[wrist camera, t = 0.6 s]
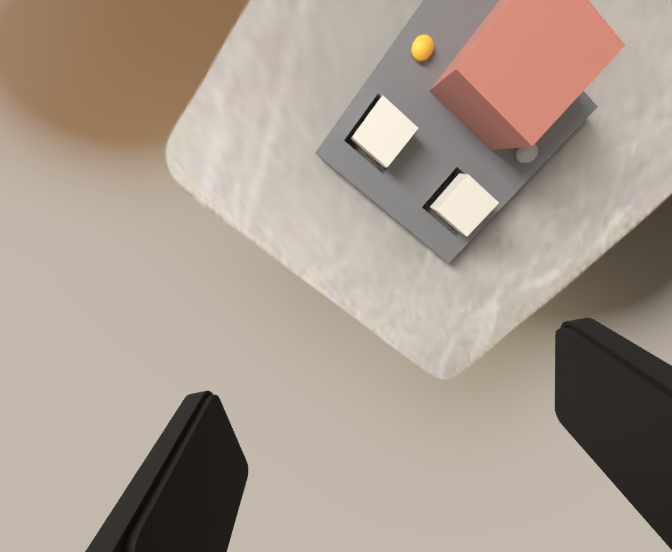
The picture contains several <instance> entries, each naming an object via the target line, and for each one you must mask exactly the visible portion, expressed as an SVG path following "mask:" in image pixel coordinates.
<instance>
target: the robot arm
mask: <svg viewBox="0 0 672 552" xmlns="http://www.w3.org/2000/svg"><path fill="white" fill-rule="evenodd" d="M555 341H556V342H555V343H556V344H555V411H556V415H557V417H558V419H559V421H560V423H561V424H562V425H563V426H564V427H565V429H566V430H567V431H568V432H569V433H570V434H571V435H572V437H573V438H574V439H575V440H576V441H577V442H578V443H579V445H580V446H581V447H582V448H583V449H584V450H585V451H586V453H587V454H588V455H589V456H590V457H591V458H592V459H593V460H594V462H595V463H596V464H597V465H598V466H599V467H600V469H602V471H603V472H604V473H605V474H606V475H607V477H608V478H609V479H610V480H611V481H612V482H613V483H614V485H615V486H616V487H617V488H618V489H619V490H620V491H621V492H622V494H623V495H624V496H625V497H626V498H627V499H628V500H629V502H630V503H631V504H632V505H633V506H634V507H635V508H636V510H637V511H638V512H639V513H640V514H641V515H642V516H643V518H644V519H645V520H646V521H647V522H648V523H649V525H650V526H651V527H652V528H653V529H654V530H655V531H656V533H657V534H658V535H659V536H660V537H661V538H662V539H663V540H664V541H665V543H666V544H667V545H668V546H669V547H670V548H671V550H672V366H671V365H669V364H667V363H666V362H664V361H662V360H661V359H659V358H658V357H656V356H654V355H652V354H651V353H649V352H647V351H646V350H644V349H642V348H641V347H639V346H637V345H636V344H634V343H632V342H631V341H629V340H627V339H626V338H624V337H622V336H621V335H618V334H617V333H616V332H614V331H612V330H611V329H609V328H607V327H605V326H604V325H602V324H600V323H599V322H597V321H595V320H594V319H591V318H582V319H577V320H572V321H567V322H564V323H562V325H561V328H560V329H558V330H557V331H556V337H555ZM247 477H248V464H247V461H246V459H245V456H244V454H243V452H242V450H241V447H240V445H239V442H238V440H237V438H236V436H235V433H234V431H233V428H232V426H231V424H230V422H229V419H228V417H227V415H226V412H225V410H224V408H223V405H222V403H221V401H220V399H219V397H218V396H217V395H213V394H212V392H210V391H204V392H198V393H194V394H189V395H187V396H186V397H185V399H184V400H183V402H182V403H181V405H180V406H179V408H178V410H177V411H176V413H175V414H174V416H173V417H172V419H171V420H170V422H169V423H168V425H167V426H166V428H165V430H164V432H163V433H162V434H161V436H160V438H159V439H158V440H157V442H156V443H155V445H154V446H153V448H152V450H151V451H150V453H149V454H148V456H147V457H146V459H145V461H144V462H143V464H142V465H141V467H140V468H139V470H138V471H137V473H136V474H135V476H134V477H133V479H132V481H131V482H130V484H129V485H128V487H127V488H126V490H125V491H124V493H123V494H122V496H121V497H120V499H119V501H118V502H117V504H116V505H115V507H114V508H113V510H112V512H111V513H110V514H109V516H108V518H107V519H106V521H105V522H104V524H103V525H102V527H101V528H100V530H99V531H98V533H97V535H96V536H95V538H94V539H93V541H92V542H91V544H90V545H89V547H88V549H87V550H86V551H85V552H227V548H228V545H229V541H230V538H231V534H232V531H233V527H234V523H235V520H236V516H237V513H238V509H239V506H240V502H241V499H242V495H243V492H244V488H245V484H246V481H247Z"/></svg>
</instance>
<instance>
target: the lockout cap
mask: <svg viewBox="0 0 672 552" xmlns="http://www.w3.org/2000/svg"><path fill="white" fill-rule="evenodd" d="M624 46H625V45H624V43H623V42H622V41H621V40H620V38H619V37H618V36H617V35H616V34H615V32H614V31H613V30H612V29H611V27H610V26H609V25H608V24H607V22H606V21H605V20H604V19H603V18H602V16H601V15H600V14H599V13H598V11H597V10H596V9H595V8H594V6H593V5H592V4H591V3H590V2H589V0H499V1H498V2H497V4H496V5H495V6H494V7H493V9H492V10H491V11H490V13H489V14H488V15H487V17H486V18H485V19H484V20H483V22H482V23H481V24H480V26H479V27H478V28H477V29H476V31H475V32H474V33H473V35H472V36H471V37H470V38H469V40H468V41H467V42H466V44H465V45H464V46H463V47H462V49H461V50H460V51H459V53H458V54H457V55H456V57H455V58H454V59H453V60H452V62H451V63H450V64H449V66H448V67H447V68H446V69H445V71H444V72H443V73H442V75H441V76H440V77H439V78H438V80H437V81H436V82H435V84H434V85H433V86H432V88H431V89H430V90H429V91H430V92H431V93H432V94H433V95H434V96H435V97H437V98H438V99H439V100H440V101H441V102H442V103H443V104H444V105H445V106H446V107H447V108H448V109H449V110H450V111H451V112H452V113H453V114H454V115H455V116H456V117H457V118H458V119H459V120H460V121H461V122H462V123H463V124H464V125H465V126H466V127H467V128H468V129H470V130H471V131H472V132H473V133H474V134H475V135H476V136H477V137H478V138H479V139H480V140H481V141H482V142H483V143H484V144H485V145H486V146H487V147H488V148H489V149H490V150H497V149H508V148H519V147H530V146H533V145H534V144H535V143H536V142H537V141H538V139H539V138H540V137H541V136H542V135H543V134H544V133H545V132H546V131H547V130H548V129H549V128H550V126H551V125H552V124H553V123H554V122H555V121H556V120H557V119H558V118H559V117H560V116H561V115H562V113H563V112H564V111H565V110H566V109H567V108H568V107H569V106H570V105H571V104H572V103H573V102H574V100H575V99H576V98H577V97H578V96H579V95H580V94H581V93H582V92H583V91H584V90H585V88H586V87H587V86H588V85H589V84H590V83H591V82H592V81H593V80H594V79H595V78H596V77H597V75H598V74H599V73H600V72H601V71H602V70H603V69H604V68H605V67H606V66H607V65H608V64H609V62H610V61H611V60H612V59H613V58H614V57H615V56H616V55H617V54H618V53H619V52H620V50H621V49H622V48H623V47H624Z"/></svg>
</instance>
